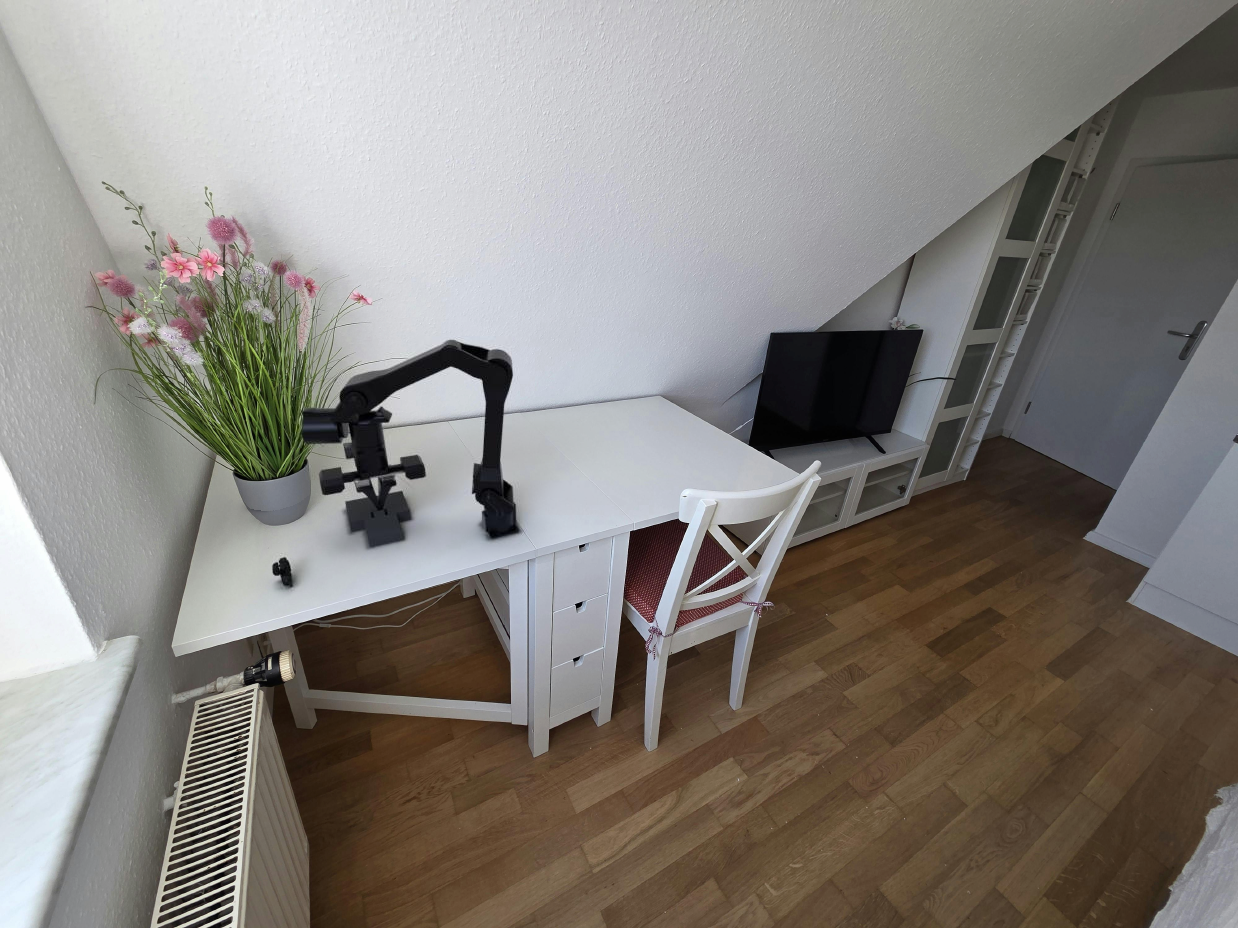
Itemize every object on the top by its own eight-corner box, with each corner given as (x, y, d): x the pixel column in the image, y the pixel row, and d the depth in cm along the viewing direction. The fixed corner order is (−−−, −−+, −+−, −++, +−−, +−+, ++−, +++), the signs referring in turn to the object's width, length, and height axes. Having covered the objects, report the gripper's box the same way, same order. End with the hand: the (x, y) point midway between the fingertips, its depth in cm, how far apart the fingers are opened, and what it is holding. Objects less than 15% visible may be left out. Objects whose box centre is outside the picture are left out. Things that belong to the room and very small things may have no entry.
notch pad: (403, 499, 121) (402, 490, 120) (410, 519, 114) (409, 510, 113) (347, 510, 115) (345, 501, 114) (351, 532, 108) (349, 522, 107)
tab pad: (395, 516, 114) (394, 507, 113) (403, 539, 107) (401, 530, 106) (364, 523, 111) (362, 513, 110) (369, 547, 104) (368, 537, 103)
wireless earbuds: (294, 592, 92) (287, 571, 89) (277, 597, 91) (270, 575, 88) (292, 570, 97) (286, 548, 95) (276, 573, 96) (269, 552, 93)
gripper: (411, 419, 109) (419, 482, 116) (310, 432, 100) (326, 499, 107) (422, 440, 100) (430, 507, 108) (313, 456, 92) (330, 528, 99)
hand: (380, 509), depth 106 cm, fingers closed
